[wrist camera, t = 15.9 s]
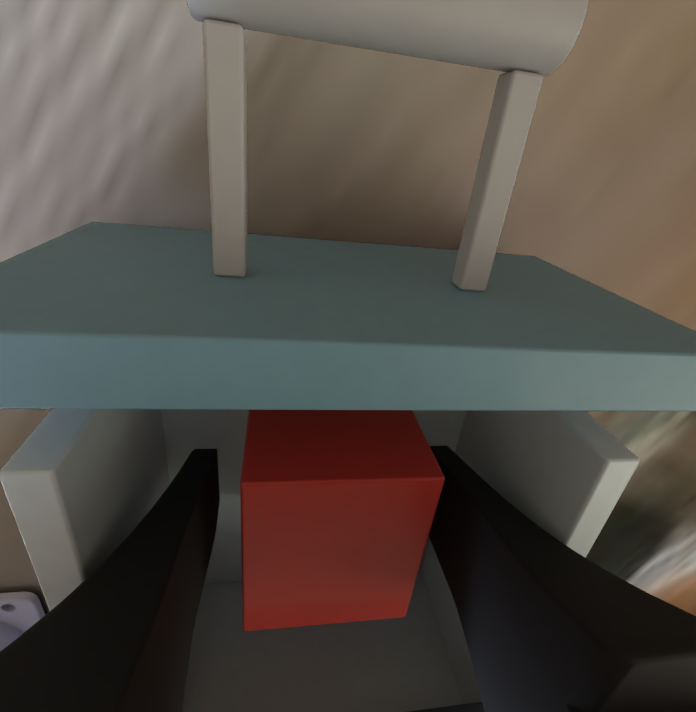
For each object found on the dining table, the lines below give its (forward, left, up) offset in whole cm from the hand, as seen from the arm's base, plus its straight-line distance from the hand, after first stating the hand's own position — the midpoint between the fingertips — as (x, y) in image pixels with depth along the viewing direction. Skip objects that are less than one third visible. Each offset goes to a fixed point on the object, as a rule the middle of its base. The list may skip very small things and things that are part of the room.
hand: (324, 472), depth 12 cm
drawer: (0, +2, -3) cm, 3 cm away
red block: (0, 0, -2) cm, 2 cm away
